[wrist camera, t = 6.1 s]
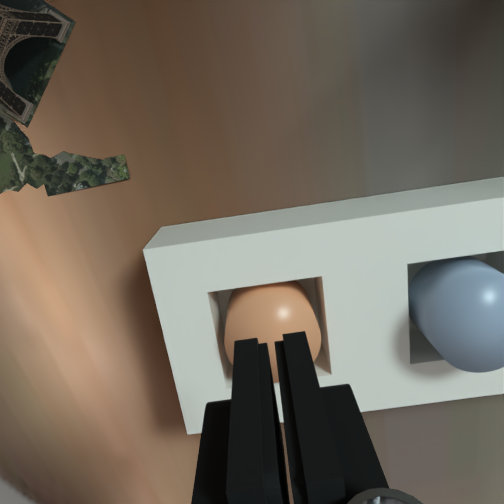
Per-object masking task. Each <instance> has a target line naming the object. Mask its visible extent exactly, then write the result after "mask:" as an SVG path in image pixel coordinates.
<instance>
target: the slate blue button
mask: <svg viewBox="0 0 504 504" xmlns="http://www.w3.org/2000/svg"><path fill="white" fill-rule="evenodd" d="M408 308H409V316H410V318H411V320H412V321H413V322H414V324H415V325H416V326H417V327H418V328H419V330H420V331H421V332H422V333H423V334H424V336H425V337H426V338H427V339H428V340H429V342H430V343H431V344H432V345H433V346H434V348H435V349H436V350H437V351H438V352H439V353H440V355H441V356H442V357H443V358H444V359H445V360H446V361H447V362H448V363H449V364H450V365H452V366H454V367H455V368H457V369H460V370H463V371H466V372H473V373H483V372H490V371H494V370H498V369H500V368H503V367H504V274H503V273H501V272H500V271H498V270H496V269H494V268H493V267H491V266H489V265H488V264H486V263H484V262H483V261H481V260H479V259H477V258H475V257H473V256H470V255H468V256H461V257H454V258H446V259H439V260H432V261H431V262H429V263H428V264H426V265H425V266H424V267H422V268H421V269H420V270H419V271H418V273H417V274H416V275H415V276H414V278H413V279H412V281H411V283H410V285H409V288H408Z"/></svg>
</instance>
